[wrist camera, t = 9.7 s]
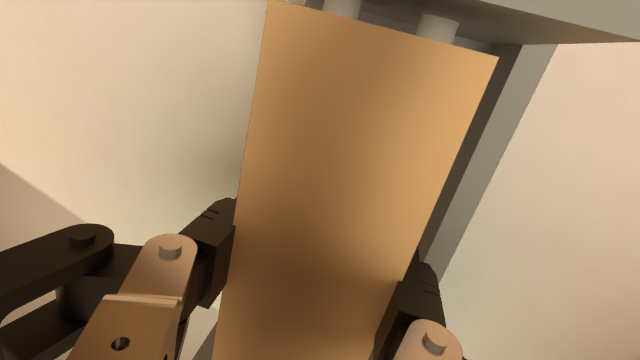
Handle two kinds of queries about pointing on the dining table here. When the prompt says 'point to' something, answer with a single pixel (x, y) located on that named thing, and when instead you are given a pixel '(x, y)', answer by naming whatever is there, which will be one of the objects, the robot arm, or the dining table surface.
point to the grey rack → (502, 89)
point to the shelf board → (338, 180)
